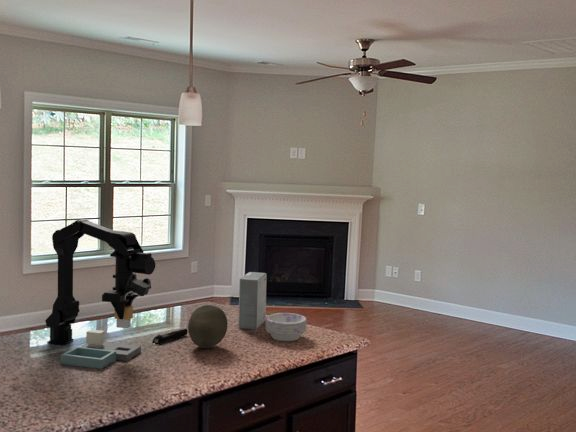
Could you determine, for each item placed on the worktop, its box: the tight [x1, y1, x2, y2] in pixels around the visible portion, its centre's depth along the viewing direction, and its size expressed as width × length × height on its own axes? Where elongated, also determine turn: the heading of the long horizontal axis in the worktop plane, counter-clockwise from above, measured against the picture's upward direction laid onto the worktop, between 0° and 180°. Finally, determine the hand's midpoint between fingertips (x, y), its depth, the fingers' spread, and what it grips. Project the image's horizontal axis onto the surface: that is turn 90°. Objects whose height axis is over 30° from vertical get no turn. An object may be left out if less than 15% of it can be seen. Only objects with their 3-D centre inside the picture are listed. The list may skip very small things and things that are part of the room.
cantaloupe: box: [187, 304, 228, 349], centre depth 217 cm, size 14×14×15 cm
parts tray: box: [60, 346, 117, 370], centre depth 198 cm, size 14×9×3 cm, turn 77°
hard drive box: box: [237, 271, 267, 331], centre depth 250 cm, size 16×8×20 cm, turn 169°
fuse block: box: [80, 341, 142, 362], centre depth 207 cm, size 18×10×2 cm, turn 77°
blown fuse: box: [114, 305, 134, 329], centre depth 205 cm, size 5×3×7 cm, turn 77°
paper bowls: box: [265, 312, 307, 342], centre depth 233 cm, size 15×15×8 cm
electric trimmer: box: [152, 328, 188, 345], centre depth 226 cm, size 4×16×3 cm, turn 145°
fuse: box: [85, 329, 106, 348], centre depth 208 cm, size 5×3×7 cm, turn 77°
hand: (123, 318), depth 205 cm, fingers closed on blown fuse, 3 cm apart
